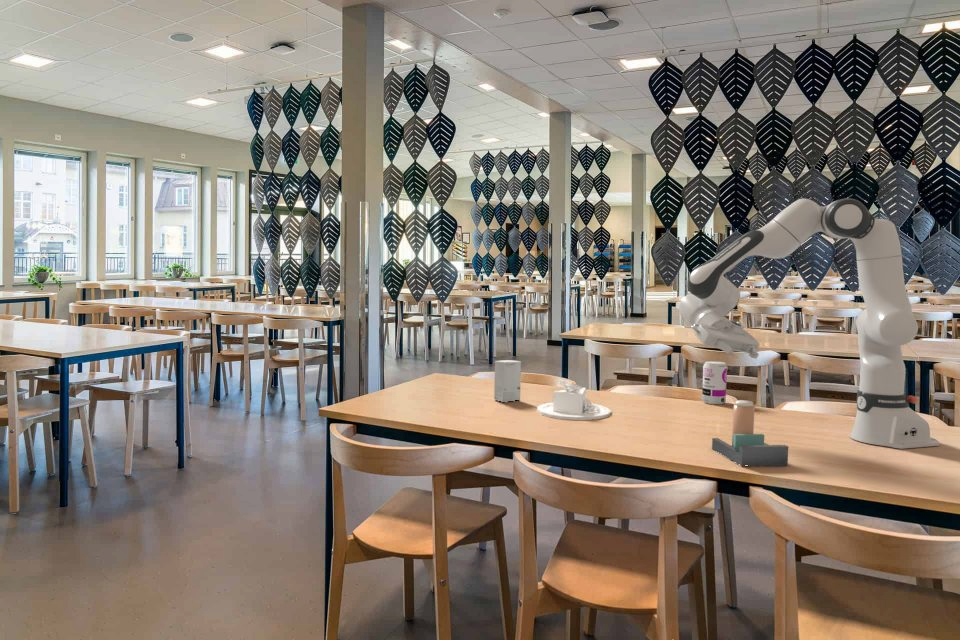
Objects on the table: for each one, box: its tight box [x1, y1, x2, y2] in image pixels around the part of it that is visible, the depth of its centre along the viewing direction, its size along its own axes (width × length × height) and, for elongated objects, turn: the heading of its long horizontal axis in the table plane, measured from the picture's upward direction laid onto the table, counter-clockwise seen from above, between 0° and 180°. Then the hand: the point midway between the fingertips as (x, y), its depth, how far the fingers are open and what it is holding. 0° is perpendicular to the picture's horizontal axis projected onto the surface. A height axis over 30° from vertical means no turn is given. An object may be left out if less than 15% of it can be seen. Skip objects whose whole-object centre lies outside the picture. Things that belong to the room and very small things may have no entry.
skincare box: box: [493, 359, 522, 403], centre depth 242 cm, size 8×6×15 cm
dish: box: [536, 379, 612, 421], centre depth 224 cm, size 25×25×11 cm
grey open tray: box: [711, 437, 789, 467], centre depth 172 cm, size 12×16×5 cm
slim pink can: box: [731, 399, 756, 446], centre depth 175 cm, size 5×5×14 cm
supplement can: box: [701, 360, 728, 406], centre depth 243 cm, size 8×8×15 cm
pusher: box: [733, 433, 765, 450], centre depth 171 cm, size 8×4×6 cm, turn 96°
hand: (743, 354), depth 187 cm, fingers open, 8 cm apart
